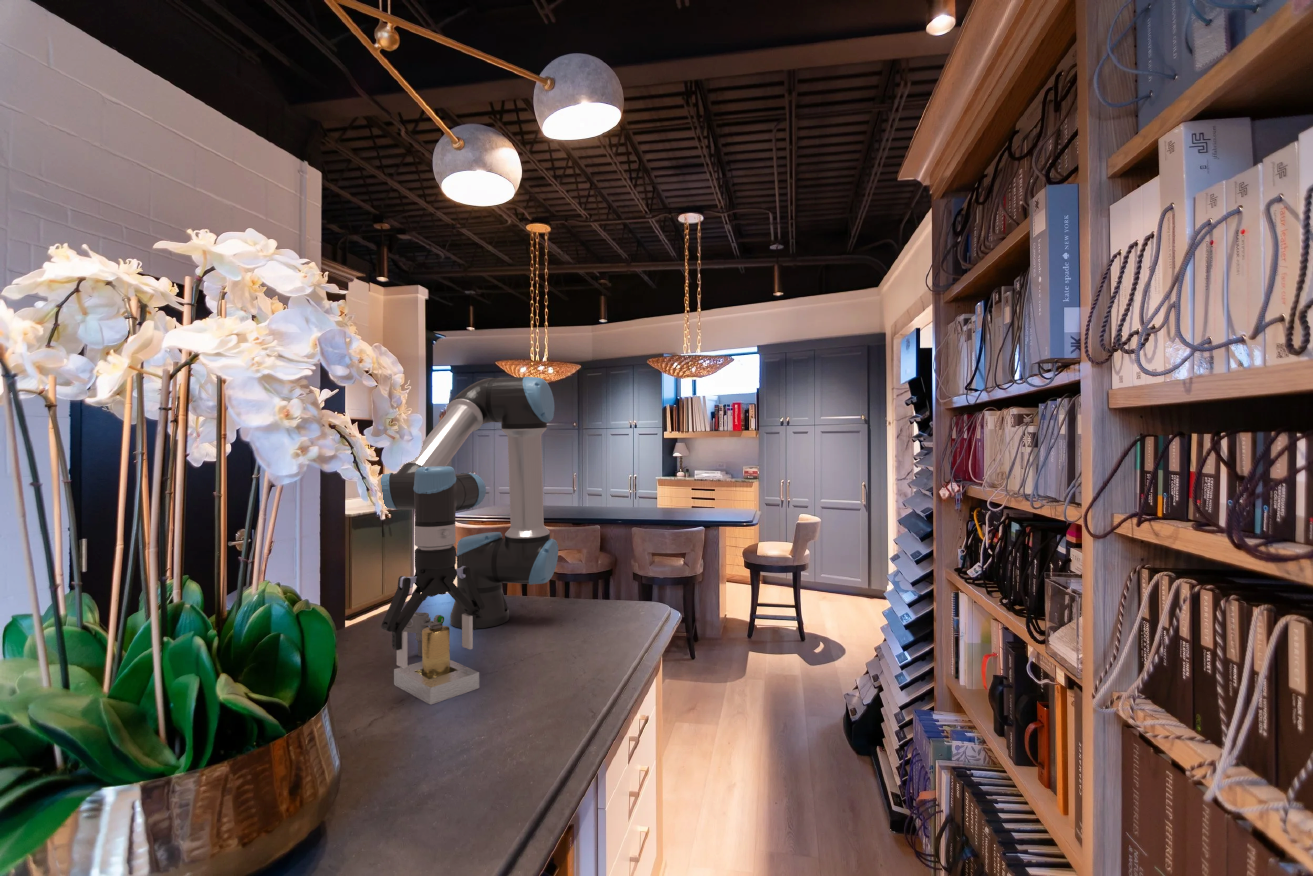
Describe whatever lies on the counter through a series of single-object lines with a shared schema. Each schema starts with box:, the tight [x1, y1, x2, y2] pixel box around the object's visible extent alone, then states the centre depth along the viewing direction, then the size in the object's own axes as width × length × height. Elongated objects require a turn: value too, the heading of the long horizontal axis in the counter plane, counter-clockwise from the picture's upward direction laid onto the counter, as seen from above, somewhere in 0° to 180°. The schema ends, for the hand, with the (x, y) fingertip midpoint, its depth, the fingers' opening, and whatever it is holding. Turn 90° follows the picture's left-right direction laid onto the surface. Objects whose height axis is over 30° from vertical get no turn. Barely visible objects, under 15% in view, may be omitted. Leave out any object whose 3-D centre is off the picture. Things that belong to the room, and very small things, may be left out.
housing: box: [393, 659, 480, 706], centre depth 122 cm, size 14×10×4 cm
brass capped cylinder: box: [421, 622, 451, 679], centre depth 122 cm, size 5×5×12 cm
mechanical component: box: [404, 611, 445, 657], centre depth 140 cm, size 3×10×10 cm, turn 79°
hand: (436, 656), depth 122 cm, fingers open, 13 cm apart
